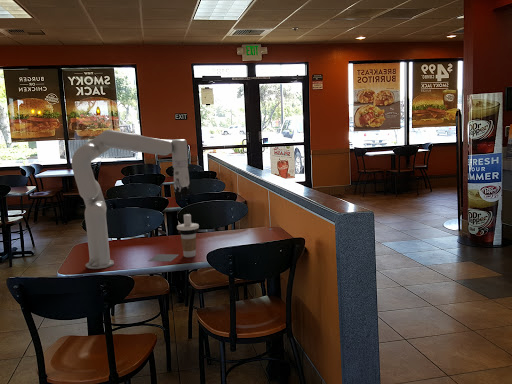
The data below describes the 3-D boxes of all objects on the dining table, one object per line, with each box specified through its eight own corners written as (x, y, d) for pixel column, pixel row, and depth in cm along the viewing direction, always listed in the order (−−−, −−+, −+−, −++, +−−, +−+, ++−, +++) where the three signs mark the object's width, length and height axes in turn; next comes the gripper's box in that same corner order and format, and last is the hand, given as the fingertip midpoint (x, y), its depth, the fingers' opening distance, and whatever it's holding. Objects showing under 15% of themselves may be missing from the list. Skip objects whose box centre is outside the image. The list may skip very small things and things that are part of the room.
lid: (194, 230, 234) (193, 217, 233) (173, 230, 236) (172, 217, 235) (201, 225, 244) (201, 212, 243) (181, 225, 247) (180, 212, 246)
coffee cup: (182, 259, 237) (180, 230, 235) (180, 255, 246) (179, 226, 243) (198, 257, 239) (197, 228, 237) (197, 253, 247) (195, 225, 245)
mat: (170, 262, 233) (170, 261, 233) (148, 262, 235) (148, 260, 235) (179, 255, 245) (179, 254, 244) (157, 255, 247) (157, 254, 247)
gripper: (181, 165, 227) (182, 200, 230) (193, 162, 244) (194, 195, 246) (166, 165, 229) (168, 200, 231) (179, 162, 245) (181, 195, 248)
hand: (182, 197), depth 239 cm, fingers open, 9 cm apart
